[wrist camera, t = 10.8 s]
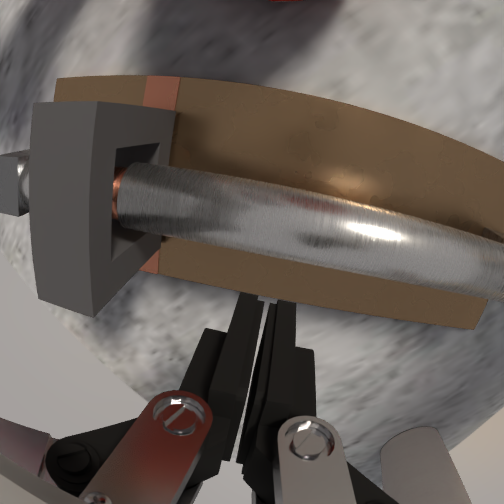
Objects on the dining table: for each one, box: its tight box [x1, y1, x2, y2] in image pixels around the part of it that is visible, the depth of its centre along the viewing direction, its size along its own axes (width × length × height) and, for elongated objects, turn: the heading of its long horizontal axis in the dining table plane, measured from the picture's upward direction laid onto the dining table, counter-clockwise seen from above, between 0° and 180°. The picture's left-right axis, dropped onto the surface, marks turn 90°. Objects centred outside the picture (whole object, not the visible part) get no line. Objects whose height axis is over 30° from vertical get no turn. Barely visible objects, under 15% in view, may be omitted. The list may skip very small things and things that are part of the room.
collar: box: [29, 101, 176, 318], centre depth 14 cm, size 3×8×8 cm, turn 170°
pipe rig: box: [0, 75, 504, 330], centre depth 15 cm, size 32×12×7 cm, turn 80°
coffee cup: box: [380, 427, 472, 504], centre depth 18 cm, size 10×10×15 cm
